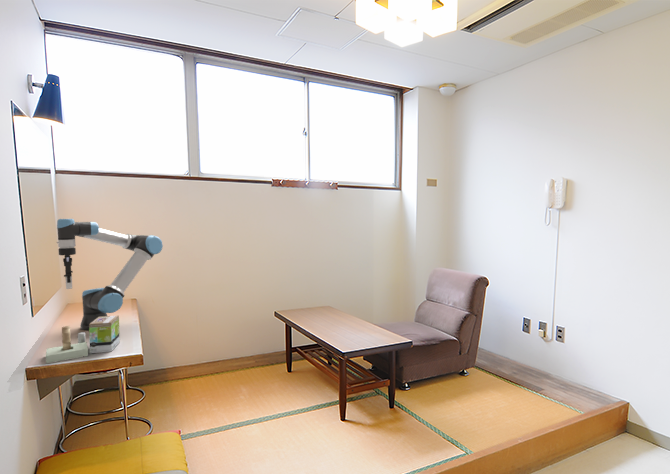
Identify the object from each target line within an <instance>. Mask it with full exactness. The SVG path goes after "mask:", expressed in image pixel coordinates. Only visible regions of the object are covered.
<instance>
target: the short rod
mask: <svg viewBox="0 0 670 474" xmlns="http://www.w3.org/2000/svg"><path fill="white" fill-rule="evenodd" d="M83 342H86V332H83V331H82V332H78V333H77V343H83Z"/></svg>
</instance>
